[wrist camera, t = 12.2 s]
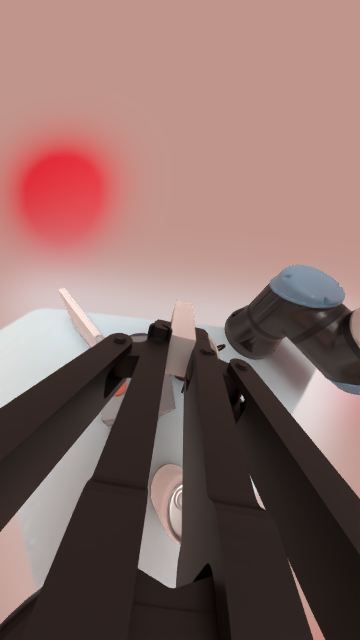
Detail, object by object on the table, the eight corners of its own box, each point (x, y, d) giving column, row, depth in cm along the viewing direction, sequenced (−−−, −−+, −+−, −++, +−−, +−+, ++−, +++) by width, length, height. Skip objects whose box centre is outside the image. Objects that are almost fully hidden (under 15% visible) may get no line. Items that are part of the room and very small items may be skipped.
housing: (154, 351, 44) (164, 324, 33) (161, 416, 37) (176, 407, 26) (107, 354, 40) (102, 325, 30) (106, 425, 34) (99, 420, 23)
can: (170, 454, 34) (189, 461, 24) (194, 486, 32) (225, 507, 23) (142, 488, 30) (151, 513, 21) (167, 526, 29) (191, 571, 19)
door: (103, 365, 39) (97, 342, 29) (71, 322, 42) (57, 289, 32) (110, 361, 39) (106, 337, 30) (78, 319, 43) (66, 285, 33)
